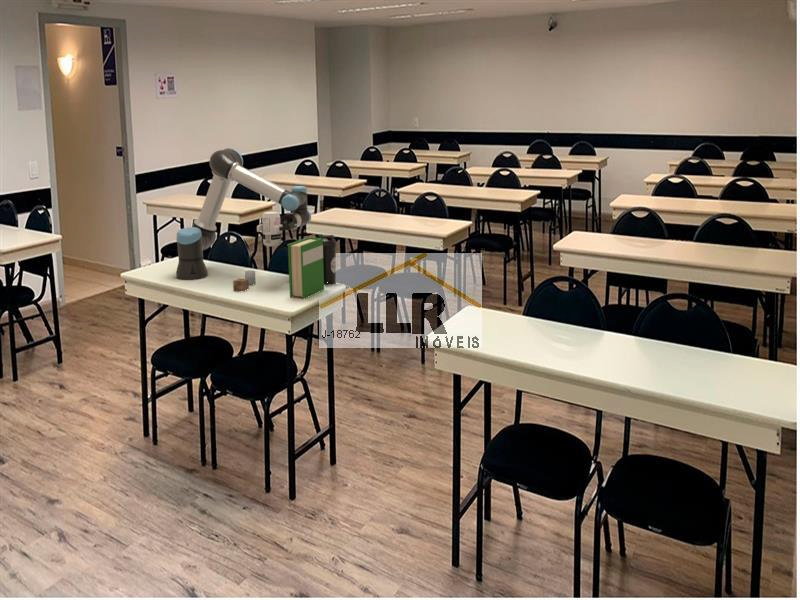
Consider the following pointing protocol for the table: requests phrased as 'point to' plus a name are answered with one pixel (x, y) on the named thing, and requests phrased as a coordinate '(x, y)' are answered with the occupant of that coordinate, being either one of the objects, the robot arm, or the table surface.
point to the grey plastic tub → (250, 277)
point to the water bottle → (329, 259)
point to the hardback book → (306, 267)
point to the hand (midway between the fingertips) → (266, 229)
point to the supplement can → (271, 228)
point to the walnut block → (240, 284)
